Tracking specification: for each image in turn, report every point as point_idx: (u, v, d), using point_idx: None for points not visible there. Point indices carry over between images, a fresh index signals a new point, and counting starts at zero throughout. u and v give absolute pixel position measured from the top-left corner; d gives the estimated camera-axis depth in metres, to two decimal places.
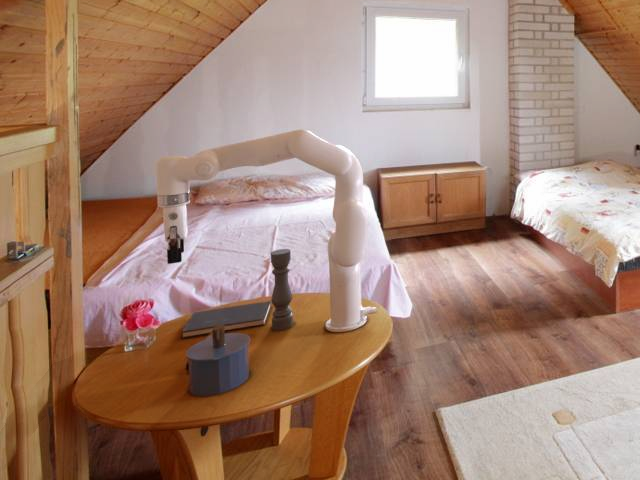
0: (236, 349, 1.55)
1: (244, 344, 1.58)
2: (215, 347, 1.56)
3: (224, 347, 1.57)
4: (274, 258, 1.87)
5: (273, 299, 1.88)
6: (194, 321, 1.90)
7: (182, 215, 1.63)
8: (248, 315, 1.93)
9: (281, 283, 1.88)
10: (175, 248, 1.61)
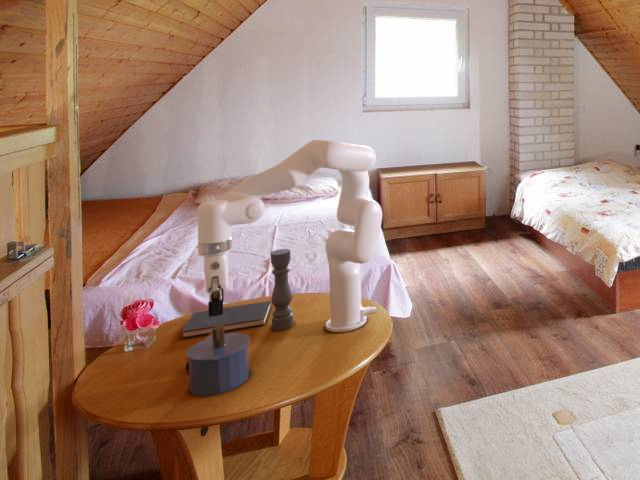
0: (236, 349, 1.55)
1: (244, 344, 1.58)
2: (215, 347, 1.56)
3: (224, 347, 1.57)
4: (274, 258, 1.87)
5: (273, 299, 1.88)
6: (194, 321, 1.90)
7: (224, 264, 1.54)
8: (248, 315, 1.93)
9: (281, 283, 1.88)
10: (217, 300, 1.52)
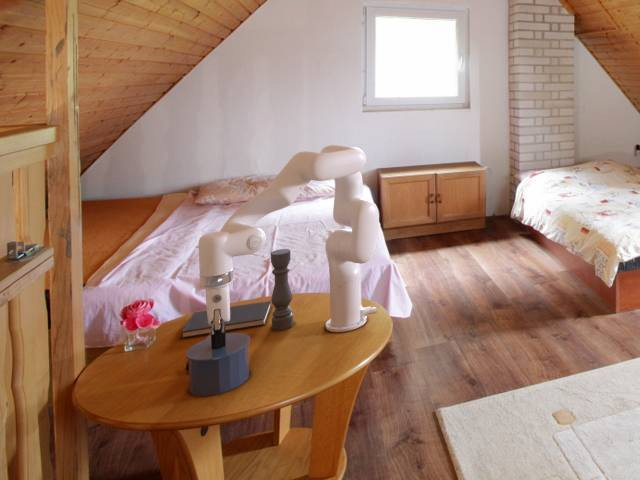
0: (236, 349, 1.55)
1: (244, 344, 1.58)
2: None
3: (224, 347, 1.57)
4: (274, 258, 1.87)
5: (273, 299, 1.88)
6: (194, 321, 1.90)
7: (226, 297, 1.54)
8: (248, 315, 1.93)
9: (281, 283, 1.88)
10: (219, 334, 1.55)
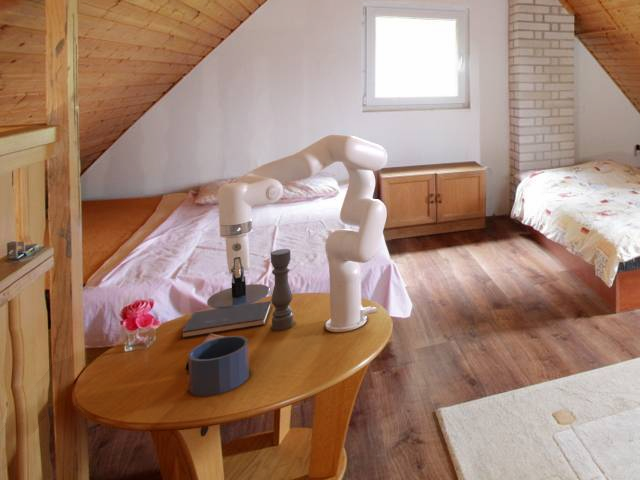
0: (256, 298, 1.57)
1: (264, 293, 1.59)
2: None
3: (244, 296, 1.58)
4: (274, 258, 1.87)
5: (273, 299, 1.88)
6: (194, 321, 1.90)
7: (246, 246, 1.55)
8: (248, 315, 1.93)
9: (281, 283, 1.88)
10: (240, 282, 1.56)
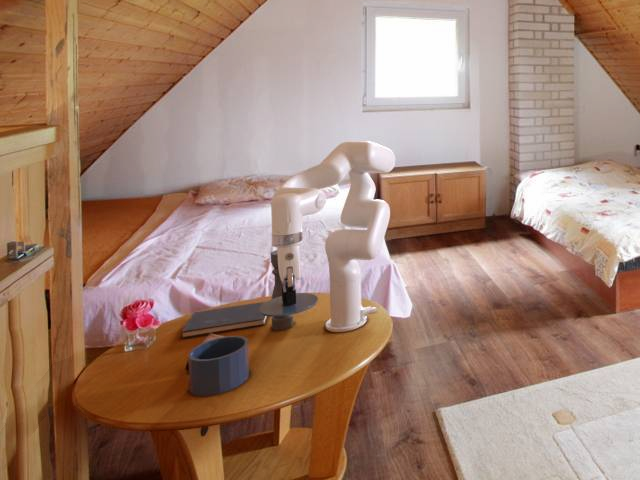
0: (307, 306, 1.61)
1: (313, 302, 1.63)
2: None
3: (295, 304, 1.62)
4: (274, 258, 1.87)
5: None
6: (194, 321, 1.90)
7: (297, 255, 1.60)
8: (248, 315, 1.93)
9: (281, 283, 1.88)
10: (291, 291, 1.61)
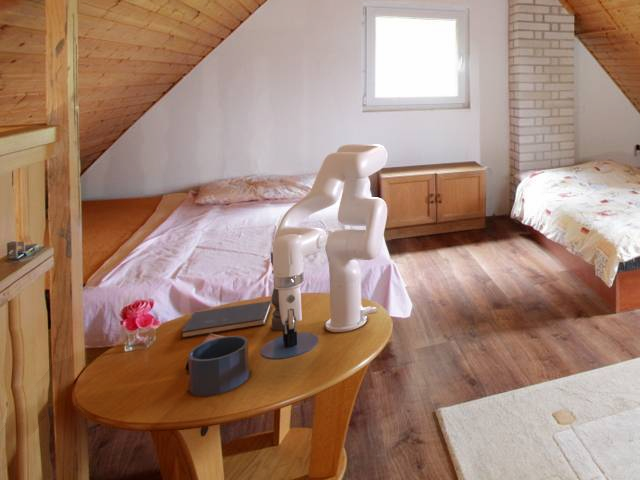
0: (308, 348, 1.61)
1: (314, 343, 1.64)
2: None
3: (295, 346, 1.62)
4: None
5: (273, 299, 1.88)
6: (194, 321, 1.90)
7: (299, 297, 1.60)
8: (248, 315, 1.93)
9: None
10: (292, 333, 1.61)
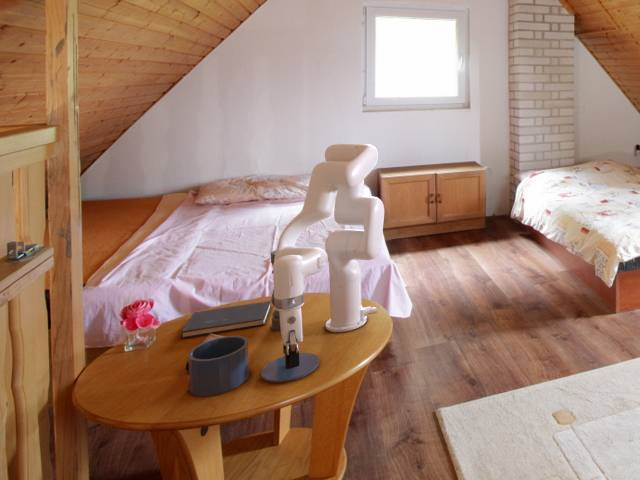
0: (308, 369, 1.61)
1: (315, 364, 1.64)
2: None
3: (296, 367, 1.62)
4: None
5: (273, 299, 1.88)
6: (194, 321, 1.90)
7: (300, 318, 1.61)
8: (248, 315, 1.93)
9: None
10: (294, 353, 1.59)
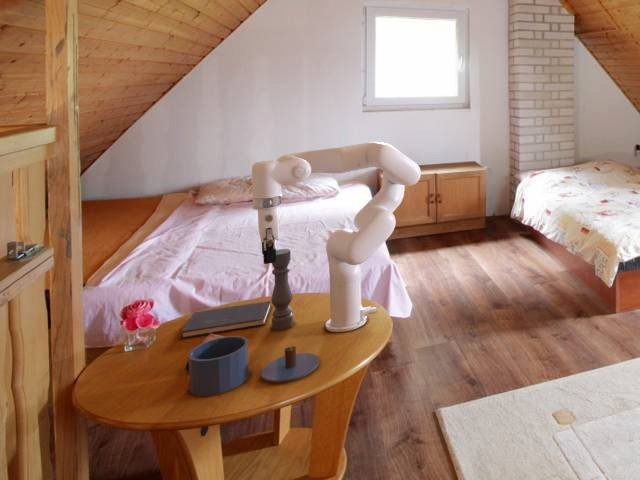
0: (308, 369, 1.61)
1: (315, 364, 1.64)
2: (288, 367, 1.62)
3: (296, 367, 1.62)
4: None
5: (273, 299, 1.88)
6: (194, 321, 1.90)
7: (276, 217, 1.71)
8: (248, 315, 1.93)
9: (281, 283, 1.88)
10: (271, 249, 1.69)
